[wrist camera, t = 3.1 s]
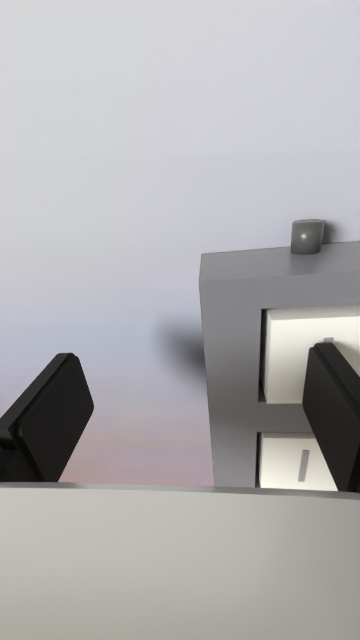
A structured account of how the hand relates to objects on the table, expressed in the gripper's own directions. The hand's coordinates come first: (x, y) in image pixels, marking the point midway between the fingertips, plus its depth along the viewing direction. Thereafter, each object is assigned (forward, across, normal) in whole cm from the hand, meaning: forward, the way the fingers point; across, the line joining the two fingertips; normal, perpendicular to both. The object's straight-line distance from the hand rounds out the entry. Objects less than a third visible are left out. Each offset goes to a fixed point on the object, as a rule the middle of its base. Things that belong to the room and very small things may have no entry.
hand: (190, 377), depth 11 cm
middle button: (+3, -5, +6) cm, 8 cm away
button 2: (+3, -5, 0) cm, 6 cm away
